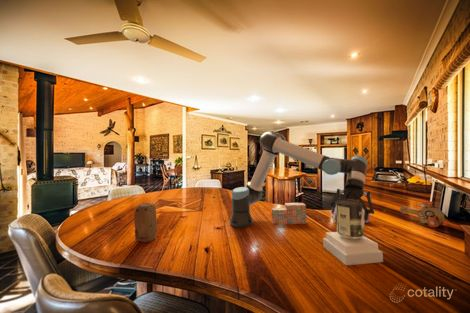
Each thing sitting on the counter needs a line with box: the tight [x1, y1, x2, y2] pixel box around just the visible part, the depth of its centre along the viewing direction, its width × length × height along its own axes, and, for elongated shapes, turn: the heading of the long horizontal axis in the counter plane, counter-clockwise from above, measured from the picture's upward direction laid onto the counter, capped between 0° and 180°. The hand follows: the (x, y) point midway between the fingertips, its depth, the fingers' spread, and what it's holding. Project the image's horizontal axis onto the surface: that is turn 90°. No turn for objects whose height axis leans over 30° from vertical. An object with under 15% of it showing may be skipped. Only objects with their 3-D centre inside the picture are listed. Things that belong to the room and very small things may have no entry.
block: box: [133, 202, 158, 243], centre depth 105 cm, size 11×8×20 cm
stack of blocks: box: [271, 202, 307, 225], centre depth 125 cm, size 21×6×12 cm, turn 88°
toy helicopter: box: [399, 201, 445, 228], centre depth 116 cm, size 8×21×14 cm, turn 22°
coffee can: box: [335, 199, 365, 239], centre depth 83 cm, size 10×10×14 cm
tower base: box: [322, 231, 384, 266], centre depth 83 cm, size 16×16×7 cm
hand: (347, 223), depth 81 cm, fingers closed on coffee can, 10 cm apart
